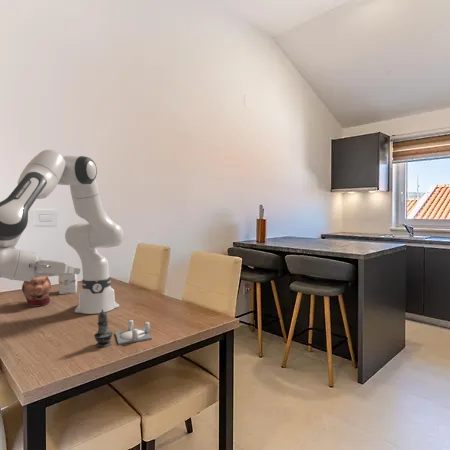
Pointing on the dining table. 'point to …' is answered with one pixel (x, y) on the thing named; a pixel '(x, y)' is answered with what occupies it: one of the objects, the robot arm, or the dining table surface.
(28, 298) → the decorative planter
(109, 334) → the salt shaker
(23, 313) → the dining table surface
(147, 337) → the pin socket board
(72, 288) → the ink box
